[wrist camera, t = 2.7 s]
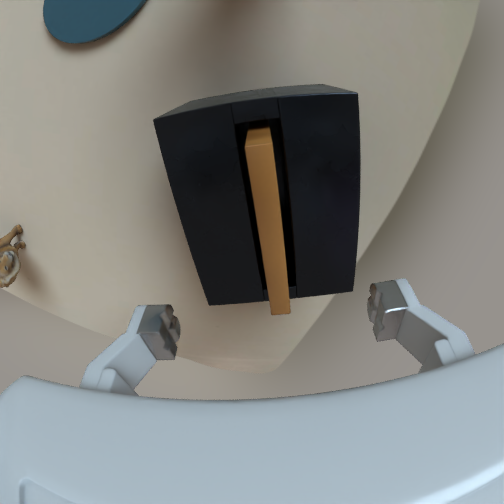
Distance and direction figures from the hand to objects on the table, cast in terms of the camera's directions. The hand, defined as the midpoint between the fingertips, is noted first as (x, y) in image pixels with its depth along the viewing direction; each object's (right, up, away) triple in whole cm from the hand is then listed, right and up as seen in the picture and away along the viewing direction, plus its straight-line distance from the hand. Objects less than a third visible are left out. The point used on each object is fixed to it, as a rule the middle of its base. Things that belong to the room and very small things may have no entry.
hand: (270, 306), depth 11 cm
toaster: (+1, +9, +13) cm, 16 cm away
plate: (-14, +25, +2) cm, 29 cm away
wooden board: (0, +8, +11) cm, 14 cm away
